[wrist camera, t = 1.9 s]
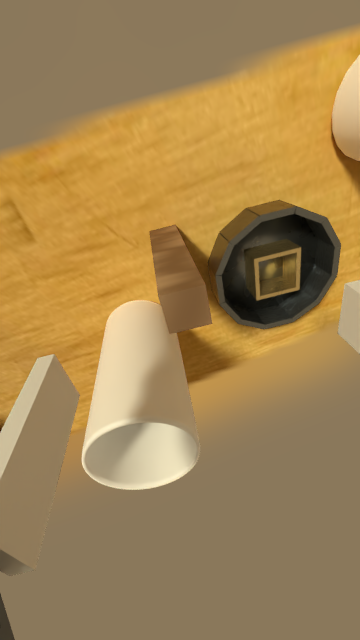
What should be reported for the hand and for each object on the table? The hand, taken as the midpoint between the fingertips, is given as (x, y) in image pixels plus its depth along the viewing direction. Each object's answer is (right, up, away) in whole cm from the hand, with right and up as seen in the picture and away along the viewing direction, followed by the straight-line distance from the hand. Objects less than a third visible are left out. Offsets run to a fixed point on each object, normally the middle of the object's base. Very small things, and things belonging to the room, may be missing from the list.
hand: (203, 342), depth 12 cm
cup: (-6, 0, +20) cm, 21 cm away
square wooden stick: (-3, +9, +15) cm, 17 cm away
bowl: (+8, +7, +17) cm, 20 cm away
